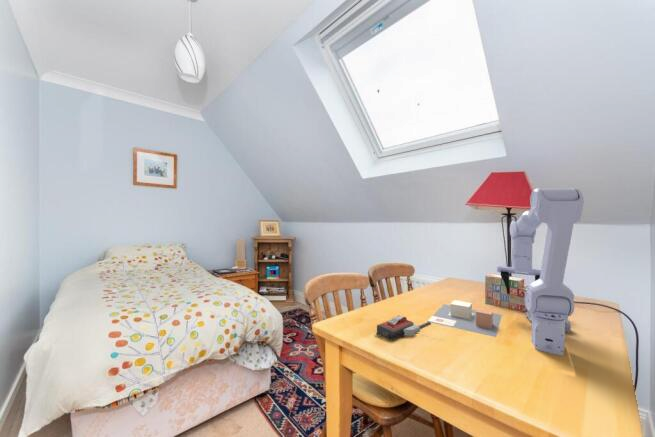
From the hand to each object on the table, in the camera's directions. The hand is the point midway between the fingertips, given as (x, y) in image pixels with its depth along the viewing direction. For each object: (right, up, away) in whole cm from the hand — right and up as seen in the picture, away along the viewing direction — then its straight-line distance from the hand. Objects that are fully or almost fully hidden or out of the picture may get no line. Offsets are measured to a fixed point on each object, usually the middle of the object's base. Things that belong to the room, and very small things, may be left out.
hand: (521, 295), depth 96 cm
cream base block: (-19, -8, +4) cm, 21 cm away
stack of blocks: (+8, -10, +14) cm, 19 cm away
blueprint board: (-19, -9, +1) cm, 21 cm away
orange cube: (-16, -8, -5) cm, 19 cm away
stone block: (+6, -10, -2) cm, 12 cm away
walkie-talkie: (-43, -9, -9) cm, 45 cm away
